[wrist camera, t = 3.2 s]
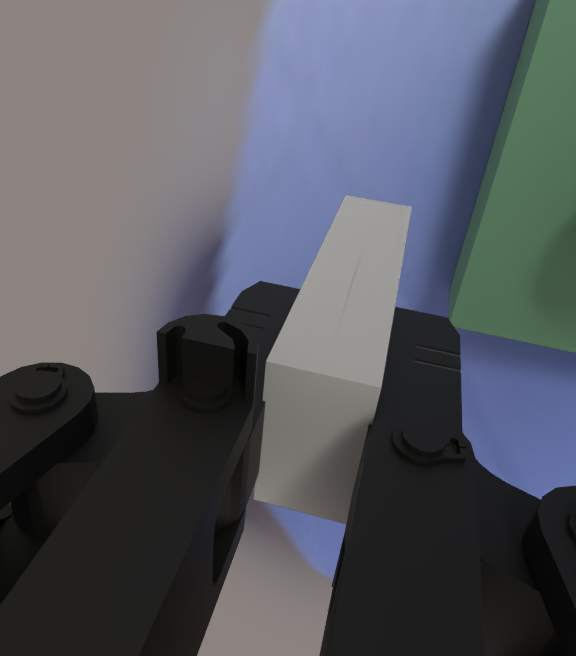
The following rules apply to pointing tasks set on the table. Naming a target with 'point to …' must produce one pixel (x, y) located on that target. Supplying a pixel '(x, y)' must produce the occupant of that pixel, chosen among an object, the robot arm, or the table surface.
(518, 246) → the green
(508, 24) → the table surface
